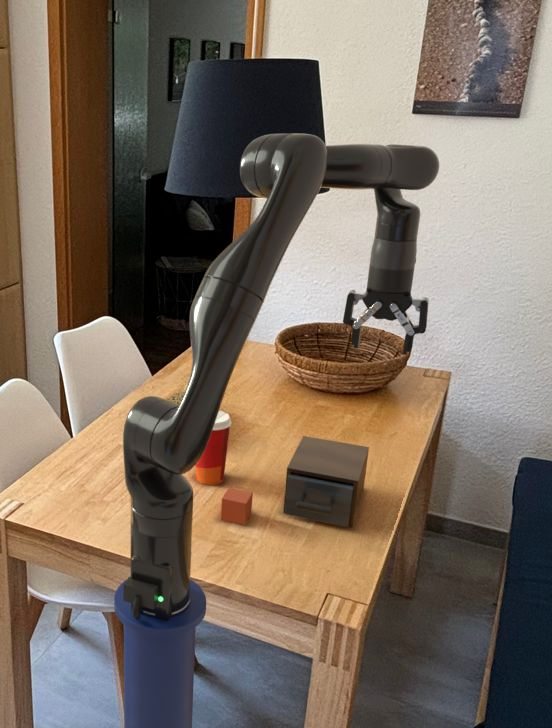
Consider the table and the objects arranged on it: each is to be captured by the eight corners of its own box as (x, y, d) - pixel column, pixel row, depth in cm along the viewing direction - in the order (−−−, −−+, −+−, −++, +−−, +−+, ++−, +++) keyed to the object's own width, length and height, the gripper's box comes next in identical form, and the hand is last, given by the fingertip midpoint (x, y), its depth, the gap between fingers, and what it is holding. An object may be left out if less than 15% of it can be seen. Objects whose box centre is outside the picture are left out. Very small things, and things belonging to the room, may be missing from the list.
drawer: (344, 541, 134) (348, 502, 131) (278, 526, 138) (281, 488, 135) (358, 492, 149) (363, 456, 146) (299, 481, 154) (302, 446, 151)
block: (244, 525, 140) (246, 503, 139) (220, 520, 142) (221, 498, 141) (251, 513, 144) (252, 491, 143) (227, 508, 146) (228, 486, 144)
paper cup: (209, 465, 162) (211, 404, 157) (236, 479, 156) (240, 416, 151) (182, 477, 157) (184, 415, 152) (209, 492, 152) (212, 427, 147)
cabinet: (352, 527, 139) (358, 481, 136) (283, 513, 144) (286, 467, 141) (363, 490, 152) (369, 447, 148) (299, 478, 157) (303, 435, 153)
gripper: (347, 264, 135) (337, 351, 141) (434, 271, 130) (420, 362, 136) (353, 255, 142) (344, 339, 148) (436, 262, 136) (423, 349, 142)
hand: (380, 350), depth 142 cm, fingers open, 8 cm apart
